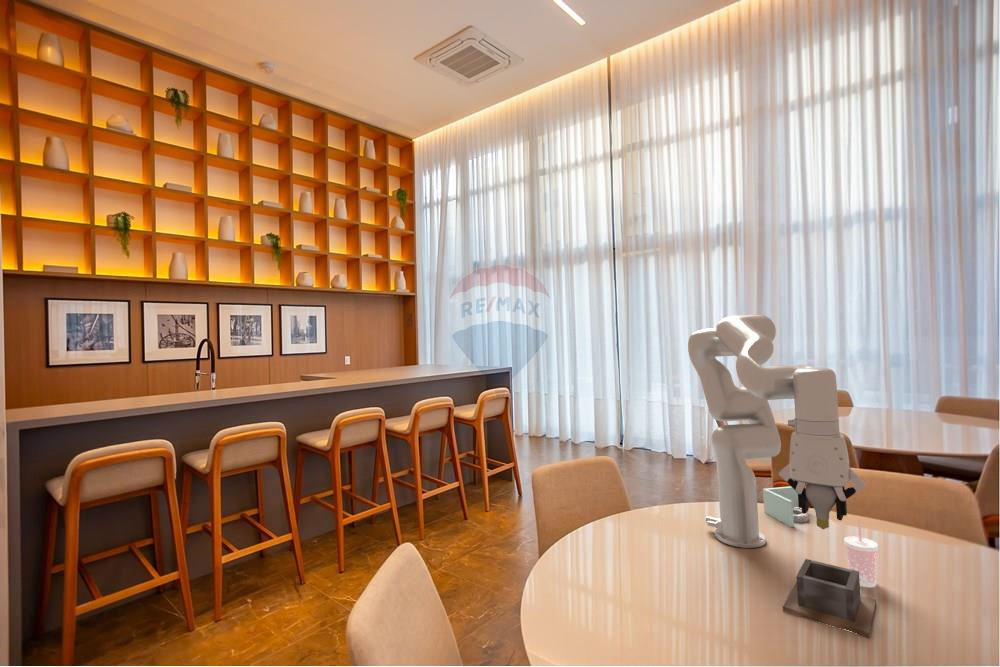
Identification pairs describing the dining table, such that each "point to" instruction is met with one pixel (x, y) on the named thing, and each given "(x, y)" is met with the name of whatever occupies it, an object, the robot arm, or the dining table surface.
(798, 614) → the socket block
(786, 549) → the dining table surface
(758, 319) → the robot arm
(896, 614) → the dining table surface
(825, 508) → the light bulb
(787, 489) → the l-shaped corner panel
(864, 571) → the beverage cup
